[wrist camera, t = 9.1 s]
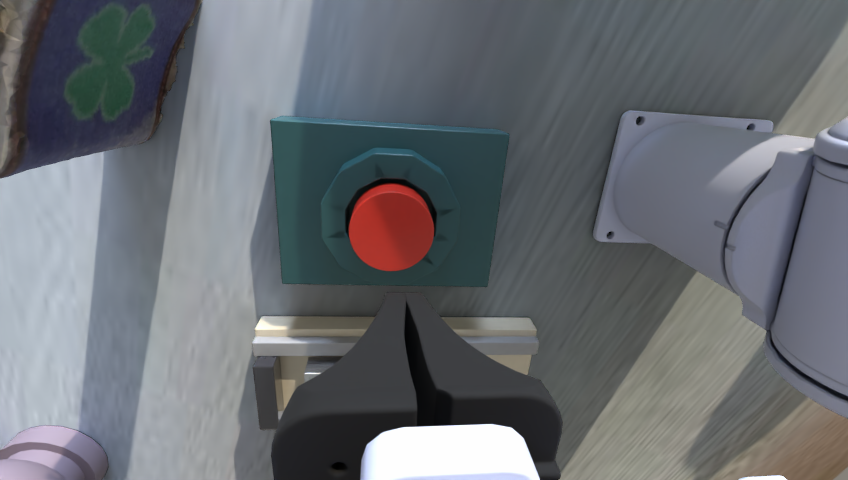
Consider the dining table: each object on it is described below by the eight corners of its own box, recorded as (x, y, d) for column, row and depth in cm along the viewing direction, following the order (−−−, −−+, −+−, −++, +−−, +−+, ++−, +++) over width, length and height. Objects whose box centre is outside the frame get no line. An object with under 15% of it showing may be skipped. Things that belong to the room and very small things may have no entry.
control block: (498, 129, 22) (521, 138, 19) (479, 271, 26) (495, 302, 22) (280, 115, 21) (258, 122, 17) (290, 267, 24) (273, 300, 21)
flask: (151, 151, 21) (-58, 212, 11) (92, 123, 20) (-190, 160, 10) (214, -21, 18) (15, -143, 9) (149, -61, 18) (-152, -247, 8)
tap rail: (529, 317, 27) (546, 344, 24) (512, 405, 30) (525, 439, 27) (261, 315, 25) (246, 345, 22) (270, 410, 28) (258, 447, 25)
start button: (433, 184, 19) (437, 193, 18) (427, 257, 21) (431, 272, 19) (351, 180, 19) (348, 189, 17) (351, 256, 20) (348, 270, 19)
